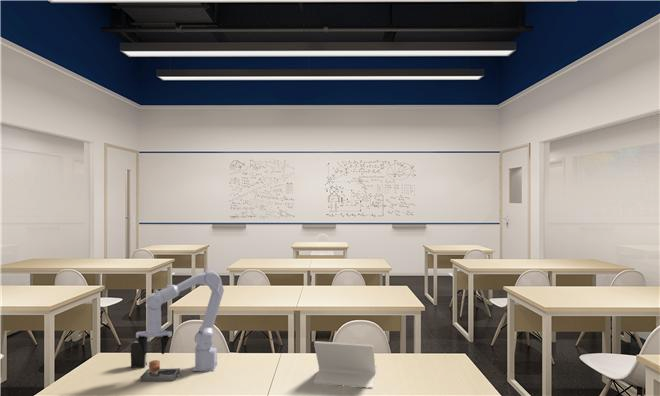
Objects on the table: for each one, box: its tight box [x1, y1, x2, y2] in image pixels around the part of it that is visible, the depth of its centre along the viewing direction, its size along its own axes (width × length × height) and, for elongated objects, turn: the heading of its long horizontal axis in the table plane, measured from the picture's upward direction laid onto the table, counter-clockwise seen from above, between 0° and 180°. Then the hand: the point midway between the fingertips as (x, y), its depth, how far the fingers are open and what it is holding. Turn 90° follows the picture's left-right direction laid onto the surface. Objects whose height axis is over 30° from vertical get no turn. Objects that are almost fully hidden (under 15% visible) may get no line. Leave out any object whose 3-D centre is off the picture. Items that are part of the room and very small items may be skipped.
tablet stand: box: [312, 341, 377, 389], centre depth 179 cm, size 18×25×17 cm
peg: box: [148, 359, 161, 374], centre depth 179 cm, size 4×4×6 cm
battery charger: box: [130, 340, 149, 368], centre depth 192 cm, size 7×4×11 cm, turn 85°
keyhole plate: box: [139, 367, 181, 383], centre depth 179 cm, size 14×8×2 cm, turn 93°
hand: (154, 353), depth 179 cm, fingers open, 7 cm apart
